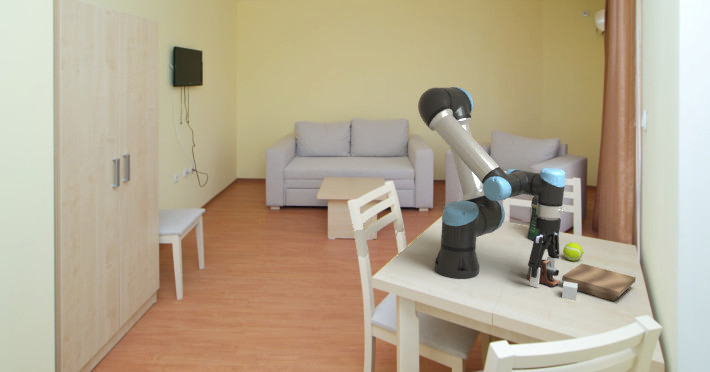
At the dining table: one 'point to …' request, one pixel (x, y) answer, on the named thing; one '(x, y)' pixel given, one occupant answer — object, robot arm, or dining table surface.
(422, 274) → the dining table surface
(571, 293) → the grey block
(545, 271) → the electronic device
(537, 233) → the coffee jar
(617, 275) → the stand
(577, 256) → the tennis ball
